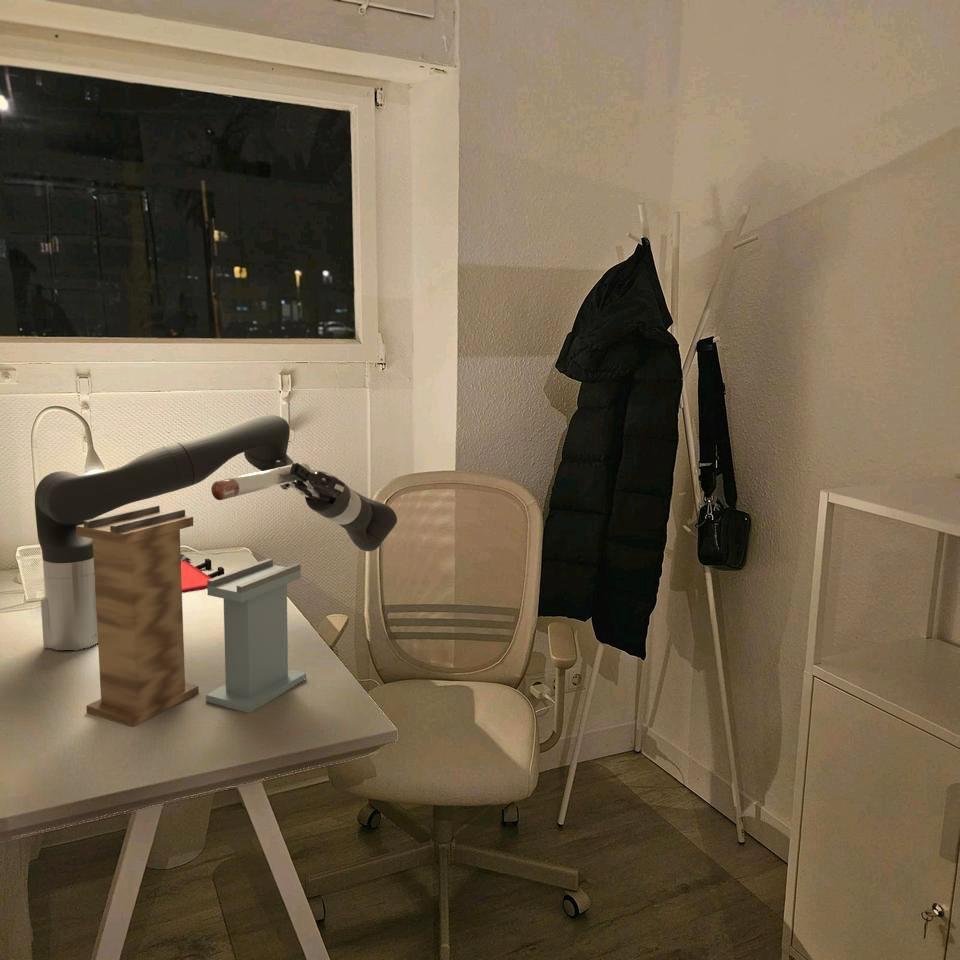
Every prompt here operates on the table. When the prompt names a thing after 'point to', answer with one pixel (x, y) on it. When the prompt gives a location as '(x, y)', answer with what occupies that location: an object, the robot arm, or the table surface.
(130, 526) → the stand
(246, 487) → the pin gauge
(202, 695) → the table surface
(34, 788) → the table surface
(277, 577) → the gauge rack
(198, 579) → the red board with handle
